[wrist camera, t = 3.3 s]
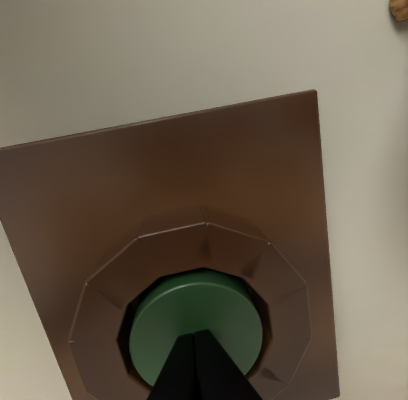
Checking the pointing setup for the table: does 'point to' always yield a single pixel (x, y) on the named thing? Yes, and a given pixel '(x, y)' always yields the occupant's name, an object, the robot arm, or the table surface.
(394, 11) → the lion figurine
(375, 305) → the table surface
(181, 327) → the button
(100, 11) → the table surface
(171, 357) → the robot arm
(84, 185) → the button box
